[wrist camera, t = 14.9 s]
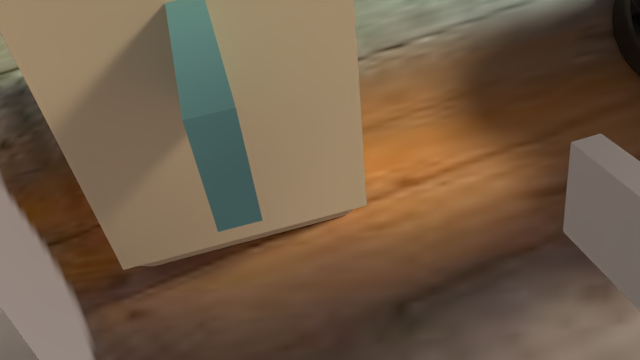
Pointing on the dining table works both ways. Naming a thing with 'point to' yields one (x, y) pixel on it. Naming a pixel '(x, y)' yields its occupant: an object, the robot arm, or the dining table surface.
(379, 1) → the dining table surface
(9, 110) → the dining table surface
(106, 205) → the flap
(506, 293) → the dining table surface
